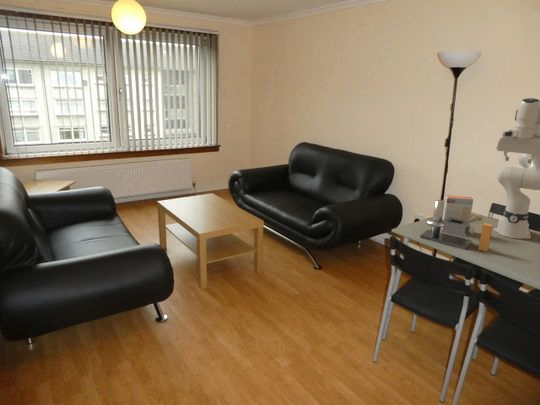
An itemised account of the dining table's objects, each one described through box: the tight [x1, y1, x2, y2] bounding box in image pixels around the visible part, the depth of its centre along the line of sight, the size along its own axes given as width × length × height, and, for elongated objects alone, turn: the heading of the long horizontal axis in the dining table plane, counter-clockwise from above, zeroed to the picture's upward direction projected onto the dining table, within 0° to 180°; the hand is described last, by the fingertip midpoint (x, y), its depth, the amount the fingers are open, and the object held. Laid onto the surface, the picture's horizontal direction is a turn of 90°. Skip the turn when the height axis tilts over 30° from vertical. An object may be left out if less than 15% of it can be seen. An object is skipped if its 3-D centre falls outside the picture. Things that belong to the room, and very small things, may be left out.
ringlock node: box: [419, 199, 476, 250], centre depth 215 cm, size 12×25×22 cm, turn 50°
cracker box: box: [441, 194, 474, 232], centre depth 230 cm, size 14×6×21 cm, turn 76°
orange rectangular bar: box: [477, 222, 494, 253], centre depth 205 cm, size 3×4×14 cm
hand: (517, 162), depth 192 cm, fingers open, 8 cm apart
